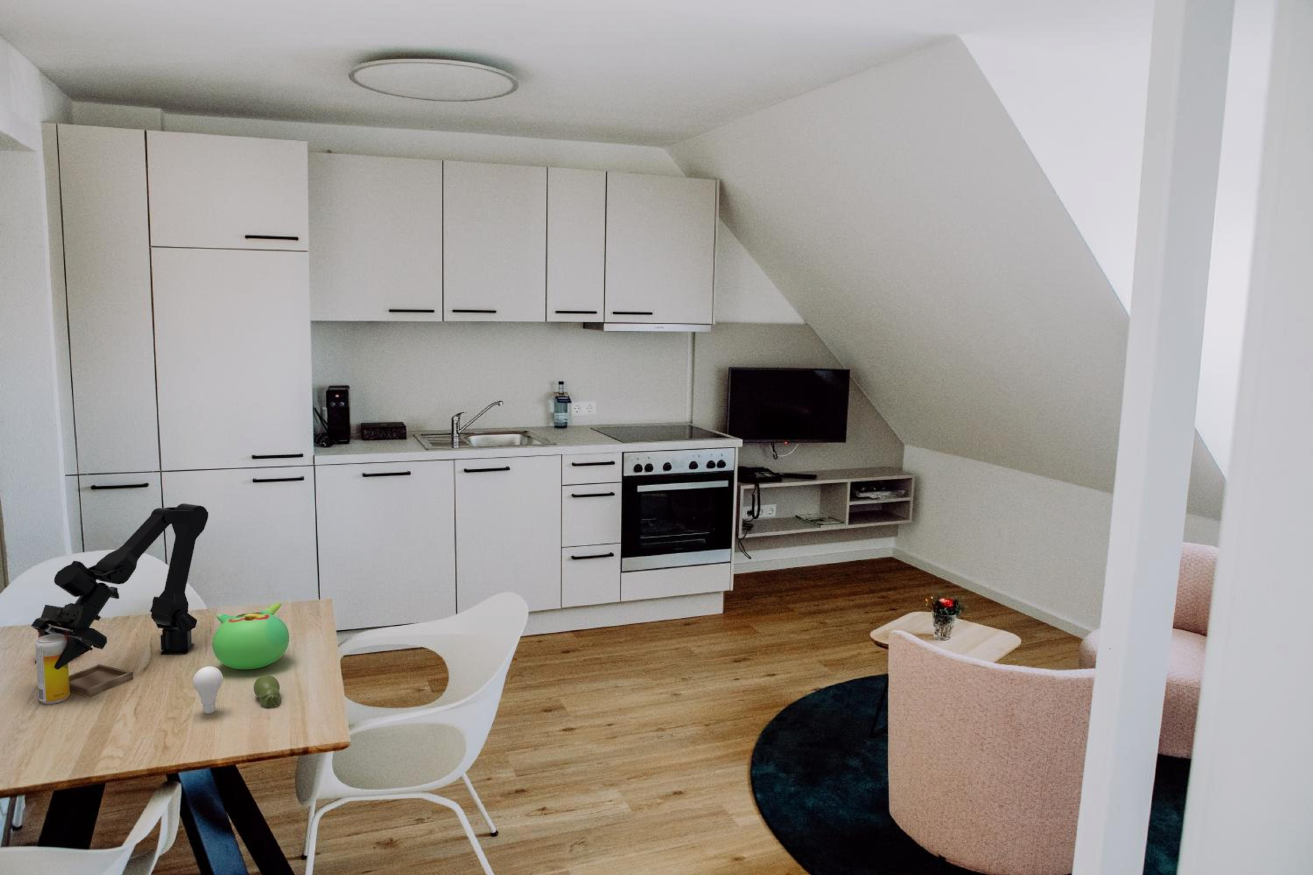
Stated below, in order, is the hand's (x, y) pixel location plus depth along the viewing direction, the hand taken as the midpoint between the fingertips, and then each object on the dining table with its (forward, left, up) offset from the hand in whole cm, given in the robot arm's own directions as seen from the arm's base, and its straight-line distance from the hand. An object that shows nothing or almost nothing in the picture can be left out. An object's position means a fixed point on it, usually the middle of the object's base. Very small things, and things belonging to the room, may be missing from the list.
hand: (46, 666), depth 212 cm
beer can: (-1, -1, -9) cm, 9 cm away
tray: (-6, -10, -9) cm, 14 cm away
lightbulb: (-38, +9, -9) cm, 40 cm away
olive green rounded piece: (-49, +3, -9) cm, 50 cm away
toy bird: (-40, -19, -9) cm, 45 cm away
